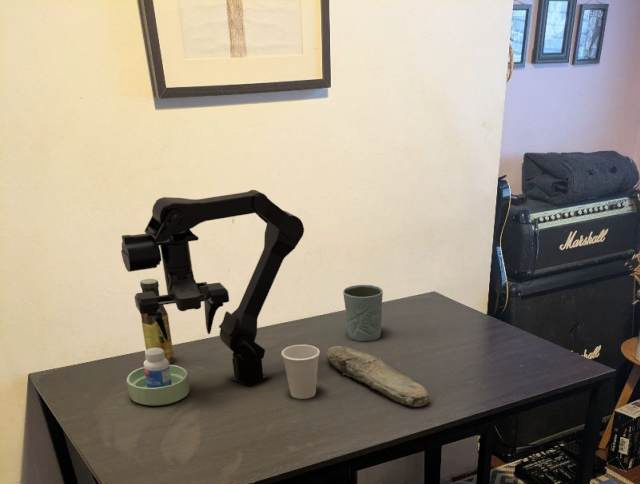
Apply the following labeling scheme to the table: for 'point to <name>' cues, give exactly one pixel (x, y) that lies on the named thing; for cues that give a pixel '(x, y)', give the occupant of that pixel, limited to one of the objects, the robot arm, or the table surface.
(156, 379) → the pill bottle
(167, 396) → the bowl
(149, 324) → the sauce bottle
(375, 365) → the long grey stone
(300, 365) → the dixie cup
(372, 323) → the green ceramic cup
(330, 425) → the table surface
